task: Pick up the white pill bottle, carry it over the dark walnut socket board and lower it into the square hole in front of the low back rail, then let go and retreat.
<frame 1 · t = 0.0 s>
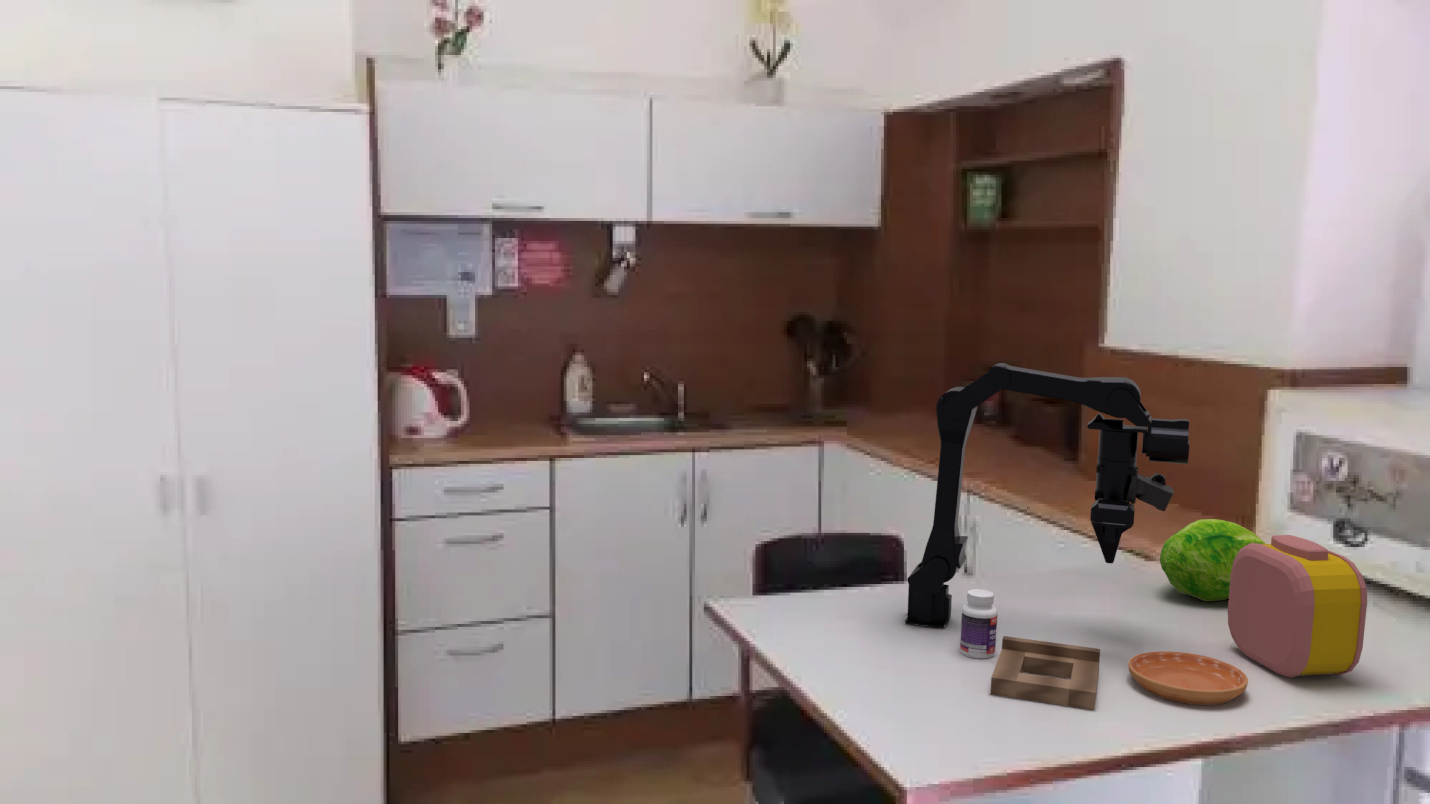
hand: (1110, 555, 178), 15 cm above the table, fingers open, 9 cm apart
alarm clock: (1288, 666, 173), on the table
socket: (1045, 684, 163), on the table
pill bottle: (977, 654, 176), on the table
saucer: (1185, 690, 163), on the table
lettuce: (1212, 598, 207), on the table
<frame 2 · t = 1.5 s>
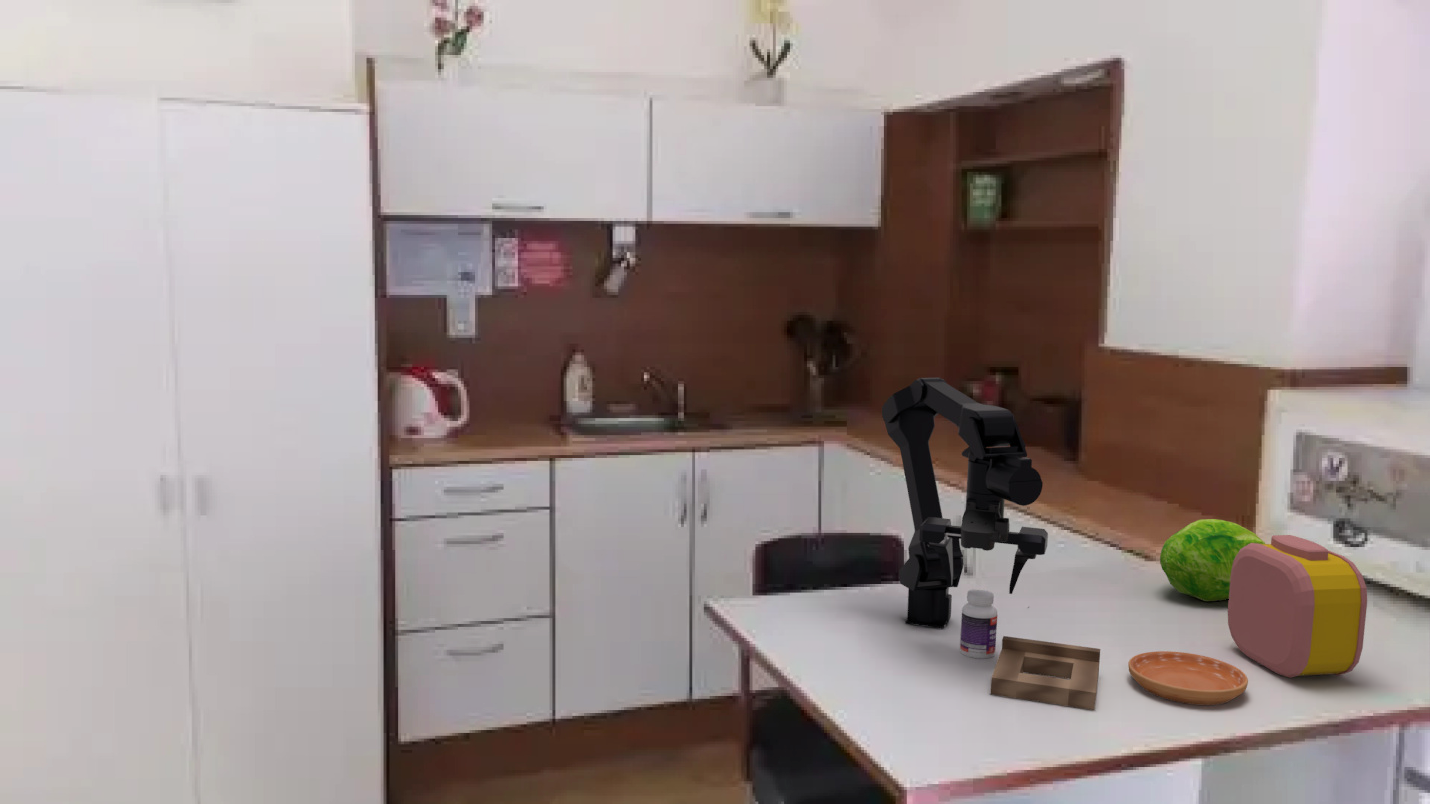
hand: (980, 589, 174), 10 cm above the table, fingers open, 9 cm apart
nothing on the table moved.
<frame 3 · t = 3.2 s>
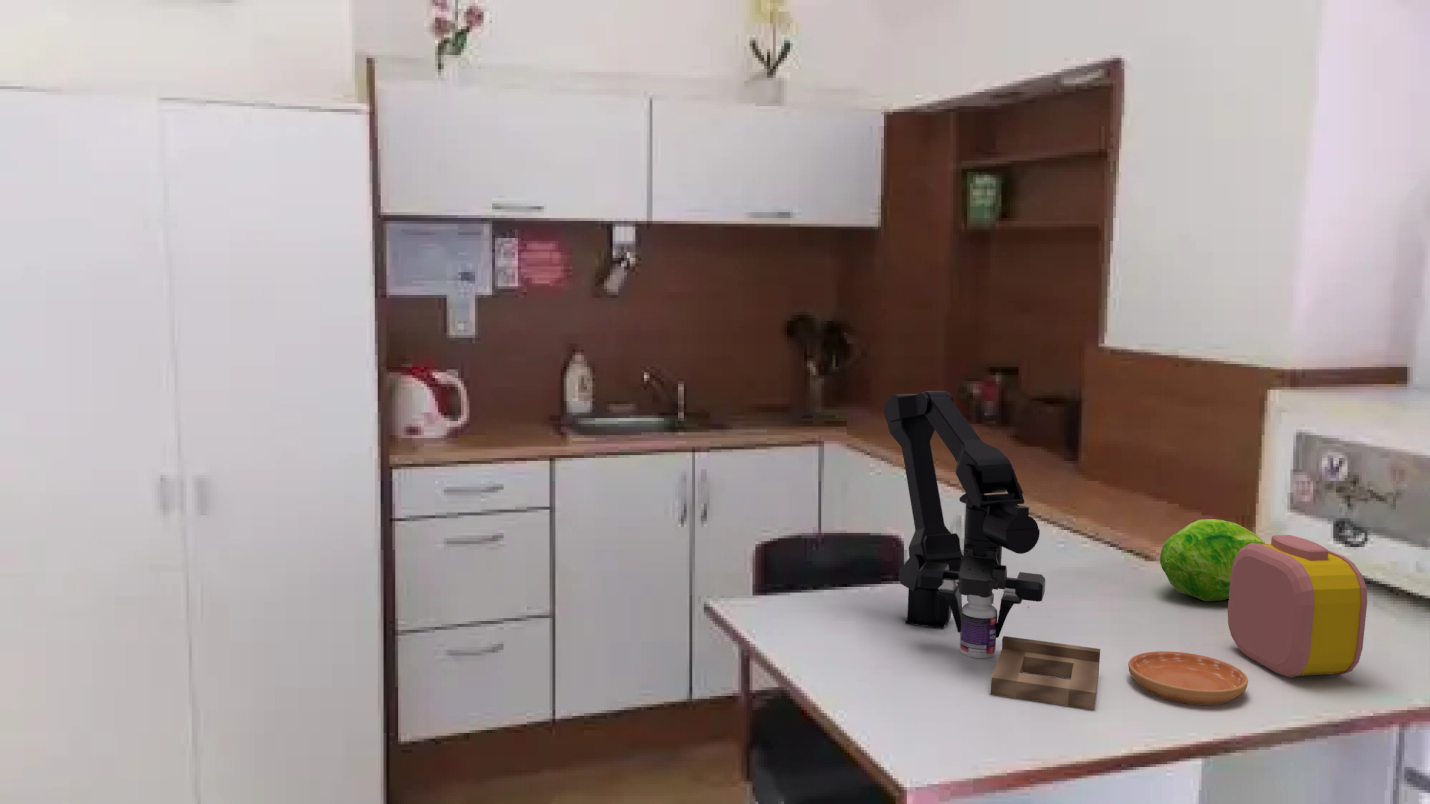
hand: (978, 634, 175), 3 cm above the table, fingers closed on pill bottle, 5 cm apart
pill bottle: (977, 654, 176), on the table, touching gripper
everything else where it was.
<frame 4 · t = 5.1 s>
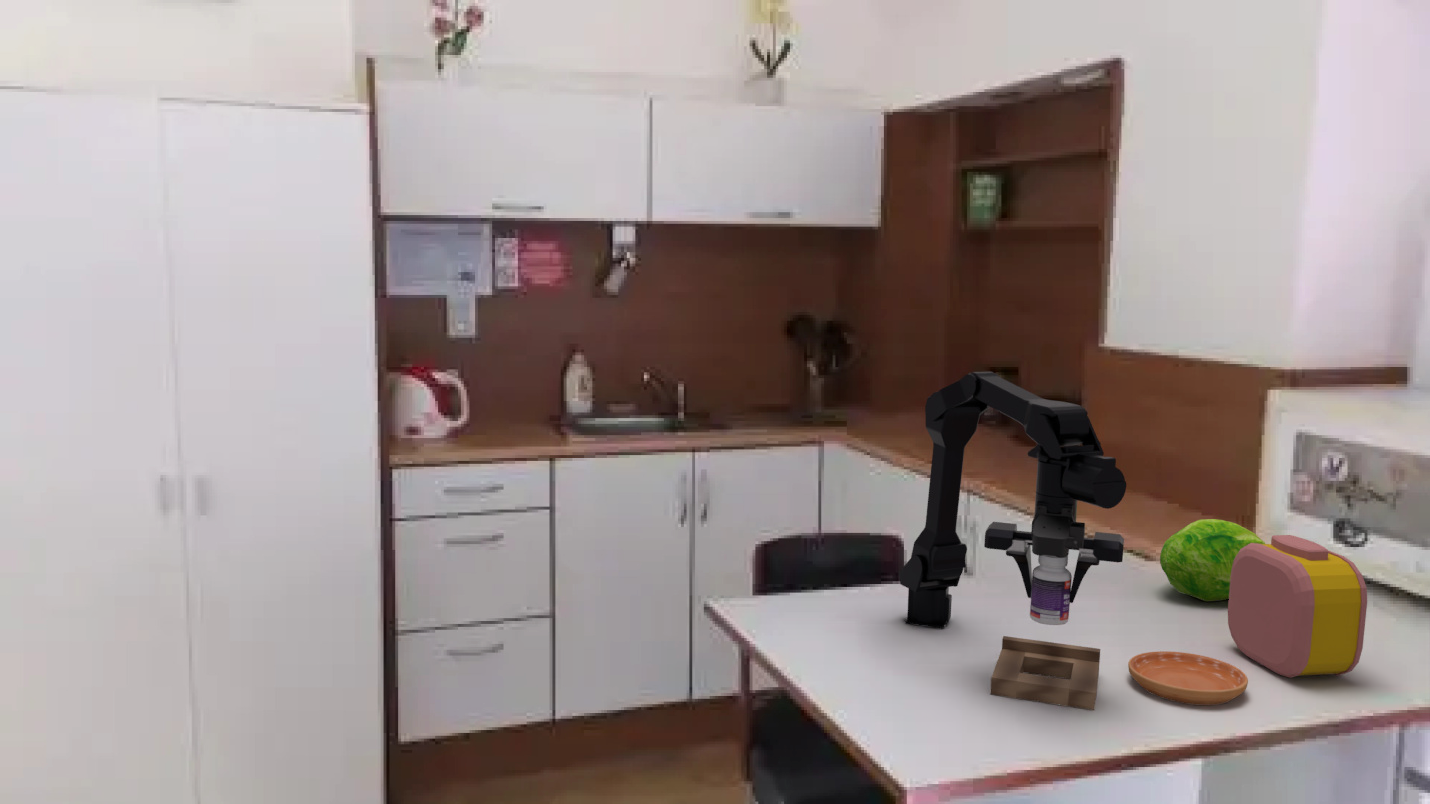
hand: (1050, 599, 162), 13 cm above the table, fingers closed on pill bottle, 5 cm apart
pill bottle: (1048, 621, 162), point 9 cm above the table, touching gripper
everything else where it was.
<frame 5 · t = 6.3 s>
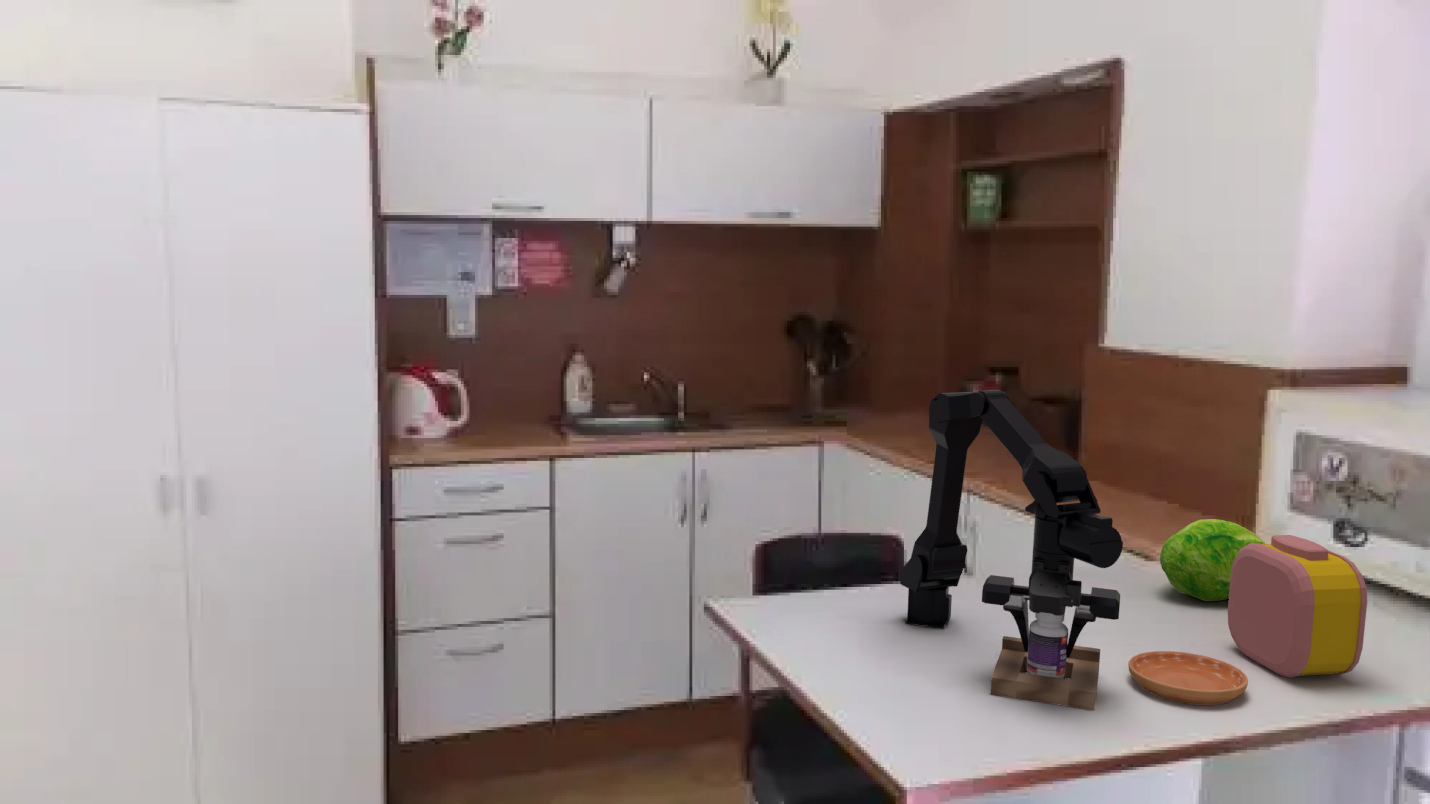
hand: (1047, 654, 163), 5 cm above the table, fingers closed on pill bottle, 5 cm apart
pill bottle: (1045, 675, 163), point 1 cm above the table, touching gripper
everything else where it was.
when the fingers open (4 cm above the table, at t = 7.2 s): pill bottle stays where it is, resting in socket.
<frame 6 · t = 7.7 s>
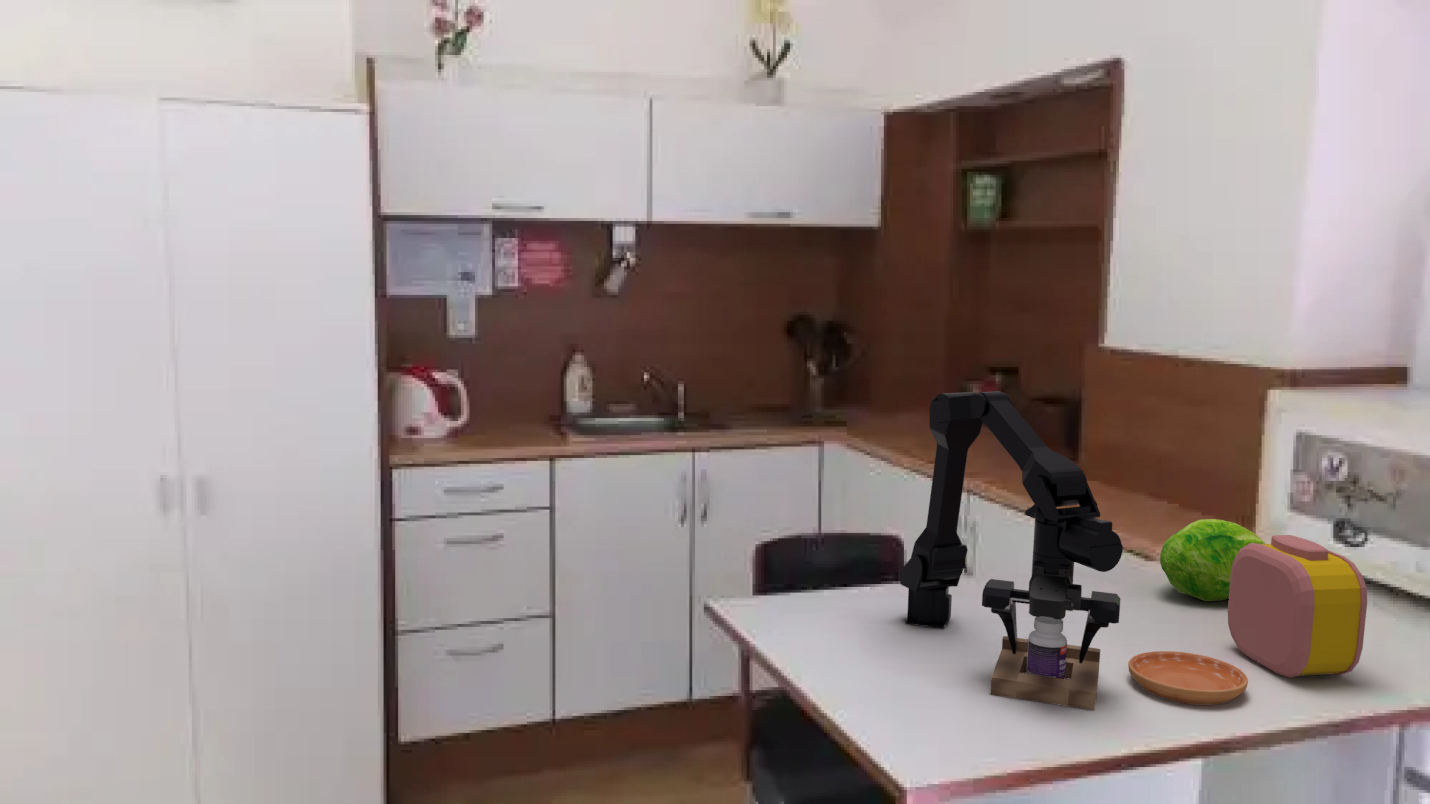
hand: (1047, 657, 163), 4 cm above the table, fingers open, 9 cm apart
pill bottle: (1045, 685, 164), resting in socket
everything else where it was.
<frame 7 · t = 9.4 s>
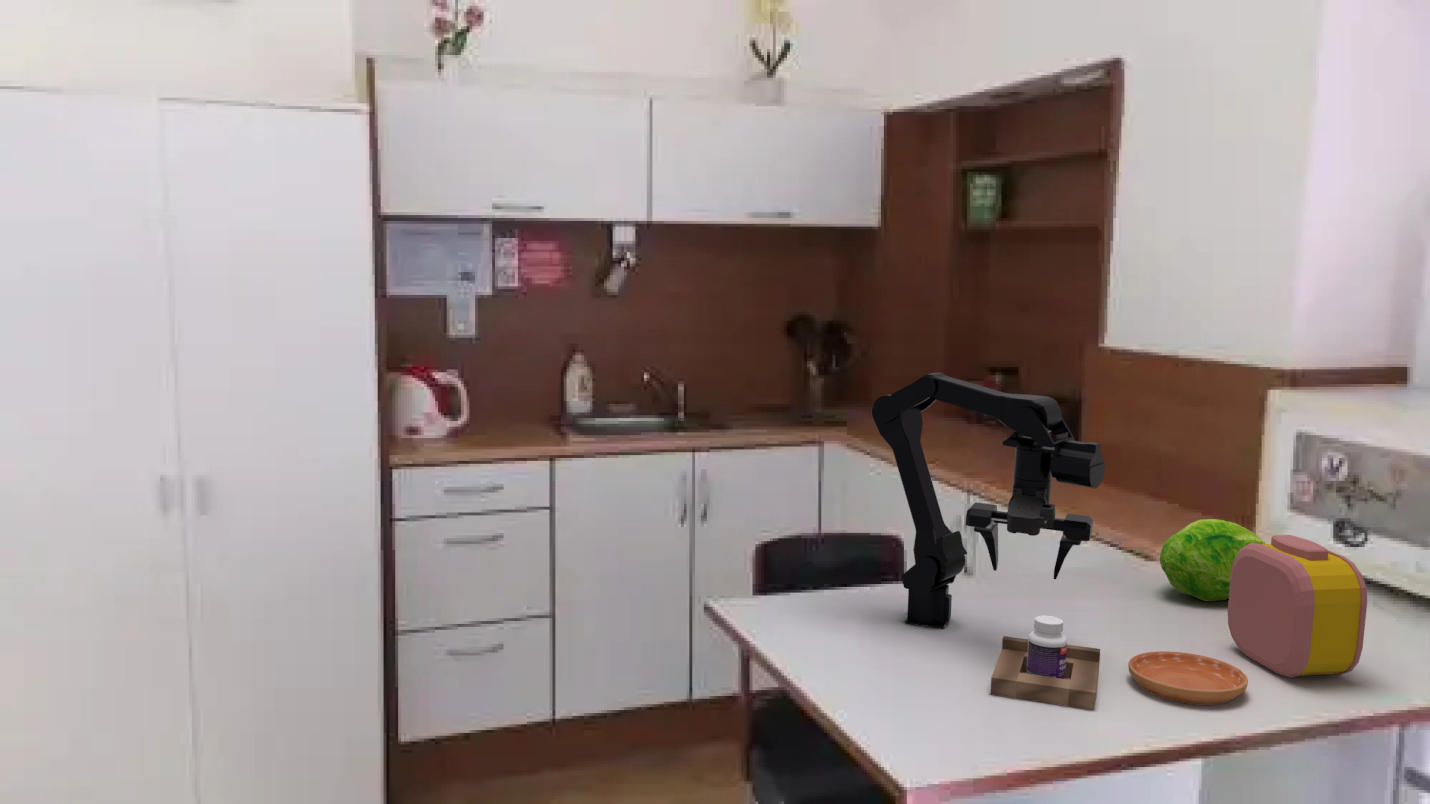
hand: (1024, 574, 178), 12 cm above the table, fingers open, 9 cm apart
nothing on the table moved.
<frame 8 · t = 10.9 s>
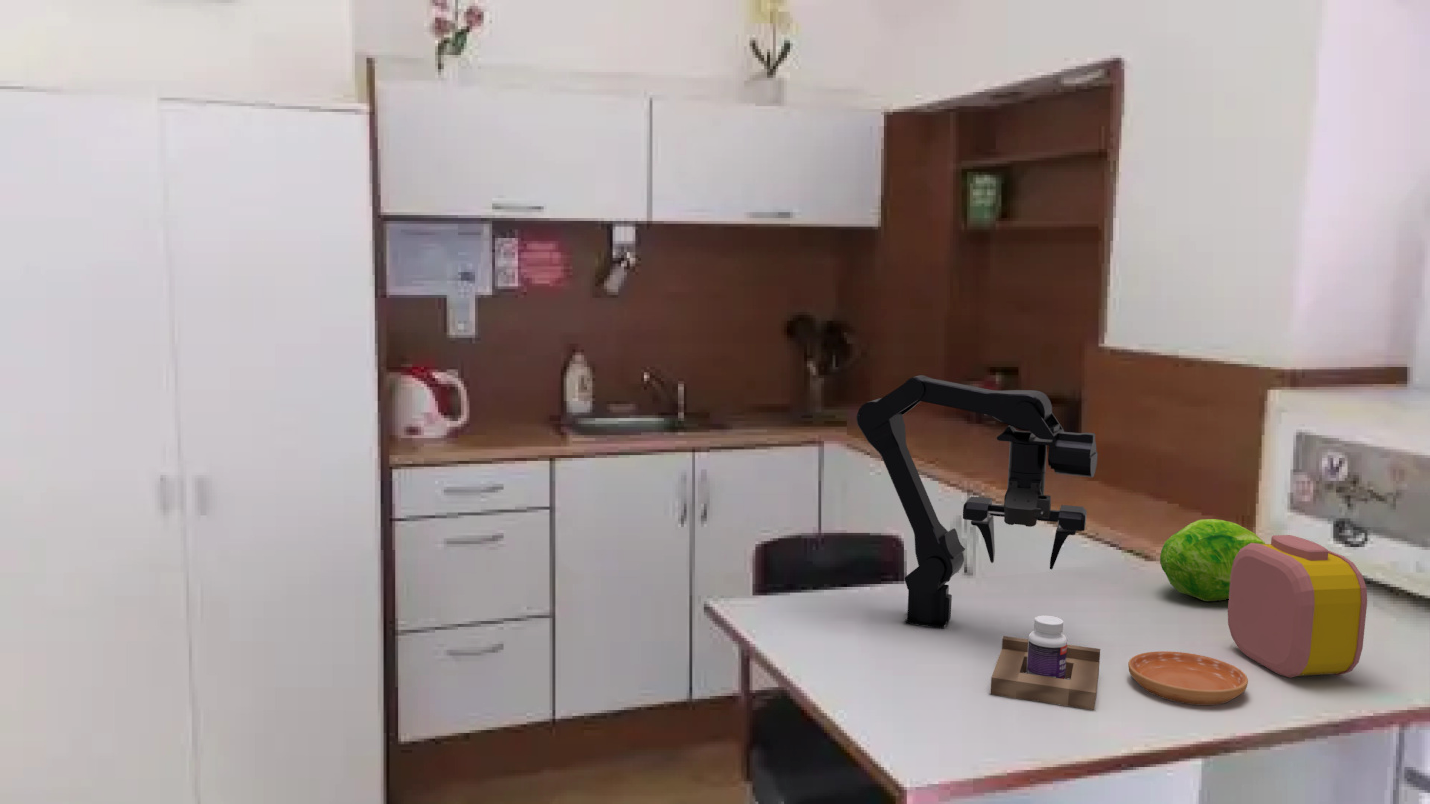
hand: (1021, 565, 181), 12 cm above the table, fingers open, 9 cm apart
nothing on the table moved.
at the end: pill bottle 0.1 cm from the socket (horizontally); pill bottle tilted 0°; pill bottle touching table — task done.
